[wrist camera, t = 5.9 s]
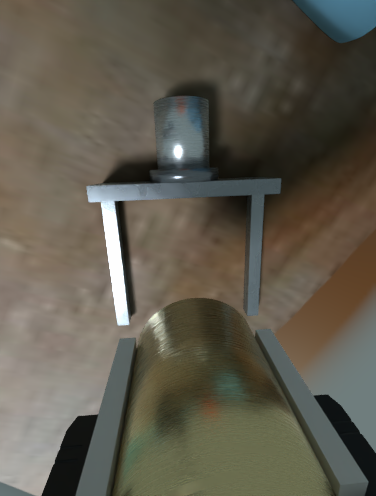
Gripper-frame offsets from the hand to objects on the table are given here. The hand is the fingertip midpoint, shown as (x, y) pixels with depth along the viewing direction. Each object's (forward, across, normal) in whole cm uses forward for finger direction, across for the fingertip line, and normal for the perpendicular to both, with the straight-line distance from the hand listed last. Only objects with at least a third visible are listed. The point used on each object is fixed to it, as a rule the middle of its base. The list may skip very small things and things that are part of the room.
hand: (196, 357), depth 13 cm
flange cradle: (+15, 0, +4) cm, 15 cm away
